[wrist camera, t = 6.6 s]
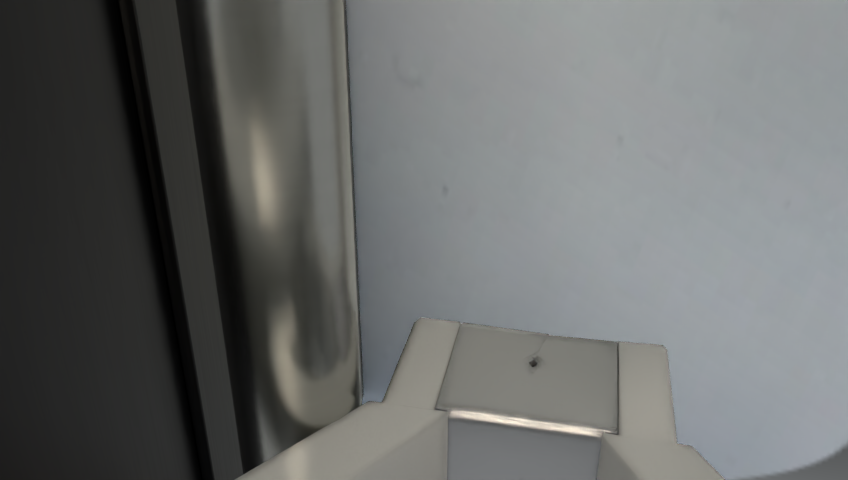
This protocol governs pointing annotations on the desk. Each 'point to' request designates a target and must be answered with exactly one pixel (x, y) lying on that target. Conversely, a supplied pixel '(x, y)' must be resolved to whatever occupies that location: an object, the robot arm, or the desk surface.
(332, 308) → the oven door
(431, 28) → the desk surface
